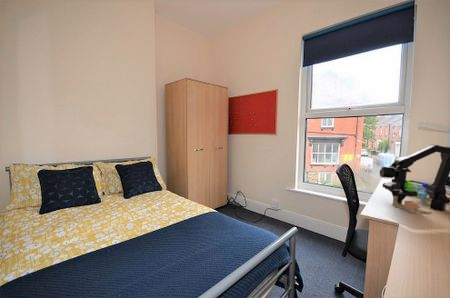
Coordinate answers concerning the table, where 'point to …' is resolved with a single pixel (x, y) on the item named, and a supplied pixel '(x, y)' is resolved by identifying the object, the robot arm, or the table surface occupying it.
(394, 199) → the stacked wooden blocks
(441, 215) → the table surface
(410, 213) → the lane bed
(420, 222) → the table surface
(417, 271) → the table surface
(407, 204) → the cube
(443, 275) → the table surface
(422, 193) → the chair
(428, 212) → the pair of tan slabs
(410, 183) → the puzzle toy
